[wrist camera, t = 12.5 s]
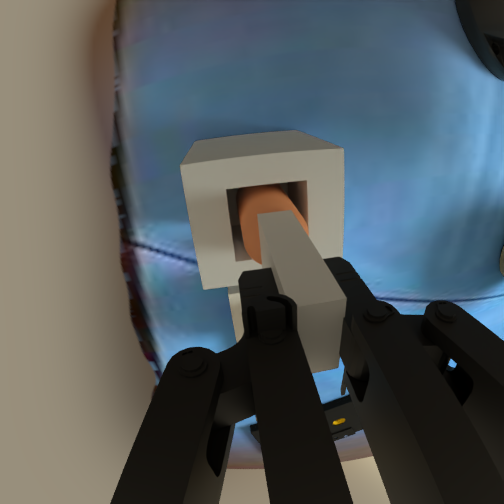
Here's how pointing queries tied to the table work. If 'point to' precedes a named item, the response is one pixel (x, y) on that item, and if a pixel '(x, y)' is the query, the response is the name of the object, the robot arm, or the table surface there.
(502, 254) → the planter bowl
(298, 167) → the housing
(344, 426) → the black cassette tape
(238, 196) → the plunger
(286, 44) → the table surface
